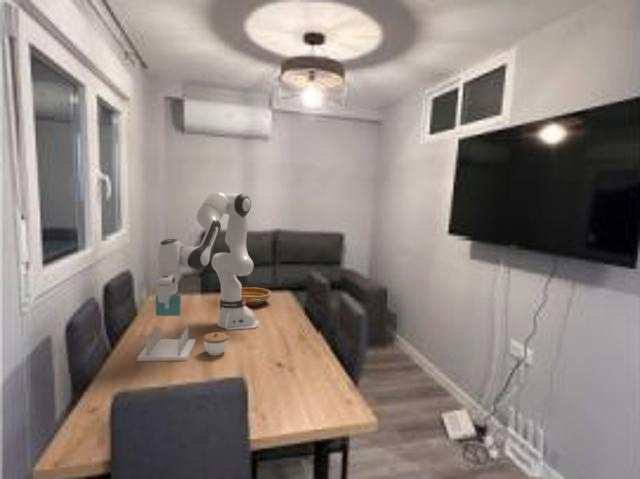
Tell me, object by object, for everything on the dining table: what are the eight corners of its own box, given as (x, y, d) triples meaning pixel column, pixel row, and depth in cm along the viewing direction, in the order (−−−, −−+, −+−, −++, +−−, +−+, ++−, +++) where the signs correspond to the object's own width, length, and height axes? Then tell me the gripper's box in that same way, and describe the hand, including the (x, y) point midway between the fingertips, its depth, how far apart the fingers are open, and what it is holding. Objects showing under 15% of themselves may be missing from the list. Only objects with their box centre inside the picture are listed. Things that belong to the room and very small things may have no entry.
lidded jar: (205, 359, 167) (206, 338, 166) (201, 350, 176) (201, 330, 175) (230, 355, 172) (231, 335, 171) (224, 346, 181) (225, 327, 180)
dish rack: (195, 342, 184) (195, 325, 183) (186, 360, 165) (186, 341, 164) (151, 342, 181) (151, 324, 180) (137, 360, 162) (137, 341, 161)
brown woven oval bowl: (231, 298, 263) (231, 286, 262) (266, 297, 270) (267, 285, 269) (235, 311, 235) (235, 298, 234) (274, 309, 242) (274, 297, 241)
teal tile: (180, 314, 173) (181, 294, 172) (179, 315, 171) (179, 296, 169) (157, 313, 172) (157, 294, 170) (155, 315, 169) (155, 295, 168)
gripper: (167, 271, 179) (167, 300, 180) (154, 281, 159) (154, 313, 160) (181, 271, 180) (181, 300, 181) (170, 281, 160) (170, 314, 161)
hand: (168, 306), depth 171 cm, fingers closed on teal tile, 2 cm apart
